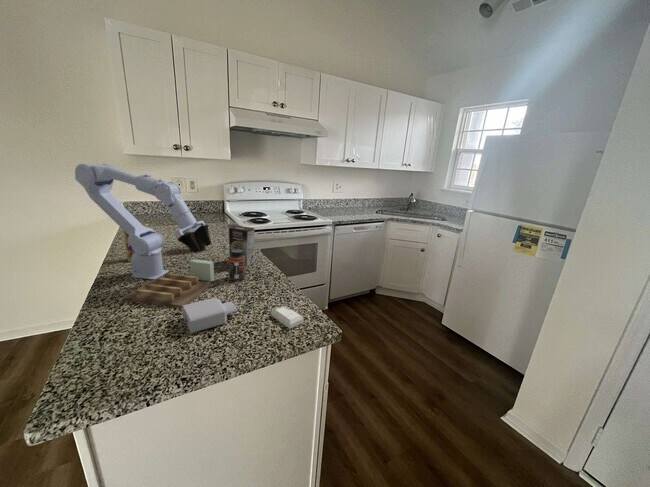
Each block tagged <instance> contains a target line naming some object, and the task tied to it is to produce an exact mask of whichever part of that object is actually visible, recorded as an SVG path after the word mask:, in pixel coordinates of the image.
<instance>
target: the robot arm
mask: <svg viewBox="0 0 650 487" xmlns="http://www.w3.org/2000/svg"><path fill="white" fill-rule="evenodd" d="M74 169H75V170H74V174H75V175H74V177H75V181H76V182H78V183H79V184H80V185H81V186H82V187H83V189H84V190H85V192H86V193H87V195H88V197H89V198H90V199H91V200H92V201H93V202H94V203H95V204H96V205H97V206H98V207H99V208H100V209H101V210H102V211H103V212H104V213H105V214H106V215H107V216H108V217H109V218H110V219H111V220H112V221H113V222H114V223H116V224H117V225H118V226H119V227H120V228H121V229H122V230H123V232H124V231H125V232H126V233H127V234H128V235H129V237H128V241H127V242H128V243H129V244H130V245H131V247H132V249H133V251H134V252H135V253H134V254H133V255H132V257H131V261H130V263H131V270H132V274H131V276H130V277H132V278H137V279H146V280H154V279H156V278H158V277H162V276H165V274H166V273H169V270H168V269H167V270H166V269H164V267H163V266H164V265H163V257H162V250H163V248H162V247H164V245H165V238H164V237H163V235H162V234H161V233H160V232H157V231H155V230H154V229H153V228H151V227H149V228H148V227H145V226H143V225H142V224H143V223H141V222H140V221H139V220H138V219H137V218H136V217H135V216H134V215H133V214H132V213H130V211H129V210H128V209H127V208H126V207H125V206H123V205H122V203H121V202H120V201H119V200H118V199H117V198H116V197H114V196H113V195H112V193H111V190H112V188H113V185H114V181H119V182H122V183H125V184H128V185H131V186H132V185H133V186H134V187H135V189H136V190H138V191H139V192H142V193H145V194H148V195H151V196H154V197H155V198H156V199H157V200H159V201H160V202H162V203H163V204H164V206H166V208H167V209H168V211H169V212H170V214H171V215H172V217H173V219H174V221H175V222H176V223H177V225H178V227H179V228H180V229H179V230H177V231H175V232H174V234H175V236H176V237H177V241H178V242H179V243H182V244H183V245H185V246H186V247H188V249H190V251H191V250H192V251H191V252H192V253H194V254H196V253H199V251H200V248H199V246H198V244H197V242H196V240H195V237H194V233H195V234H196V235H197V236H198V237H199V238H200V239H201V240H202V241H203V243H204V244H205V247H208V246H210V245H212V240H211V237H210V234H209V225H208V224H206V223H205V221H204V220H198V221H197V220H196V218H195V217H194V215H193V213H192V212H191V210H190V208H189V207H188V205H187V204H186V202H185V201H184V199H183V197H182V196H181V188H180V187H179V185H178V184H177V183H175V182H173V181H168V182H166V181H165V180H164V179H161V178H160V179H157V178H154V177H152V174H148V173H145V174H140V175H137V174H133V173H130V172H128V171H126V170H123V169H120V168H118V167H116V166H114V165H110V164H107V163H101V164H97V163H96V164H91V163H90V164H87V163H80V164H78V165H76V167H75V168H74ZM191 228H192V230H190V229H191ZM193 228H194V229H193ZM195 229H197V230H196V231H194V233H193V232H191V231H193V230H195ZM188 230H189V231H188ZM189 232H191V233H189Z"/></svg>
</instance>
